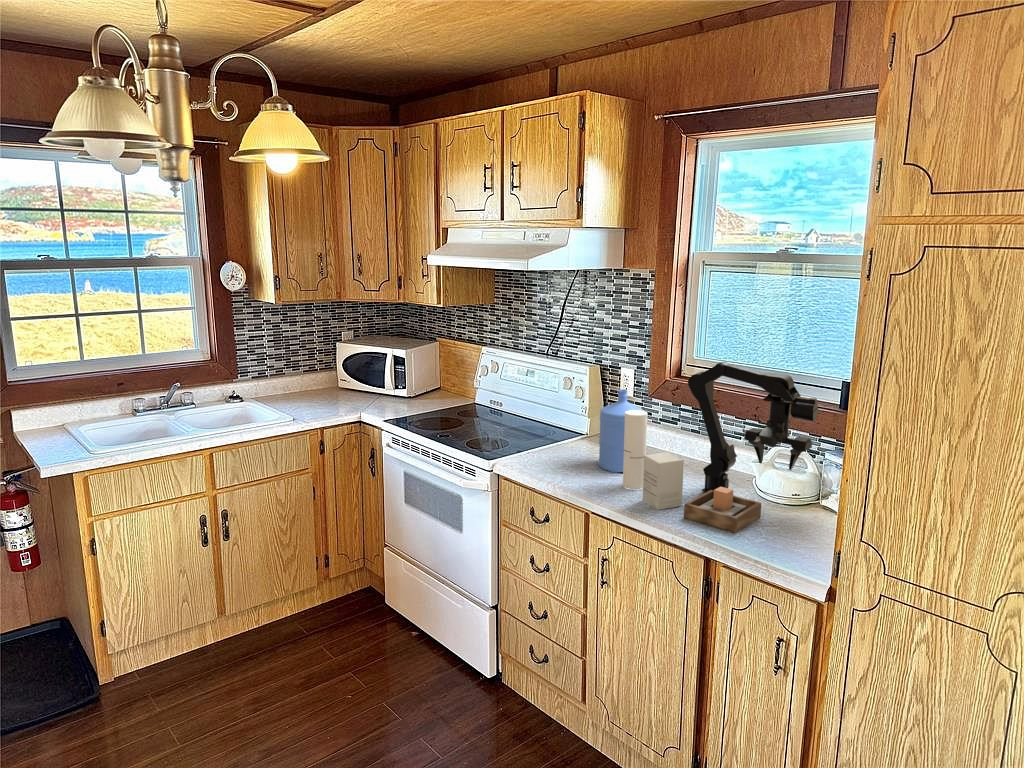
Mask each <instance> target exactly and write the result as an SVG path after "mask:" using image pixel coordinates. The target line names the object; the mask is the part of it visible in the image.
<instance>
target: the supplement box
mask: <svg viewBox="0 0 1024 768" xmlns="http://www.w3.org/2000/svg"><path fill="white" fill-rule="evenodd" d="M684 463H685V461H684V459H683V458H681V457H679V456H677V455H675V454H673V453H671V452H668V451H666V452H660V453H659V452H658V453H651V454H646V455H644V471H643V489H642V501H643V502H644V501H645V502H644V503H646V502H647V503H648V504H647V503H646V504H647V505H649V506H650V505H651V507H652V508H654V509H655V510H657V511H660V509H661V510H665V509H666V508H667V509H670V508H677V507H678V506H679V507H682V506H683V493H684V492H683V491H684V490H683V489H684V488H683V485H684V465H685V464H684ZM667 509H666V510H667Z"/></svg>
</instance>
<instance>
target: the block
mask: <svg viewBox="0 0 1024 768" xmlns="http://www.w3.org/2000/svg"><path fill="white" fill-rule="evenodd" d="M733 496H734V489H732V488H729V487H728V488H724V487H719V488H717V489H715V490H714V500H713V508H717V509H721V510H724V511H729V510H730V509H732V504H733Z"/></svg>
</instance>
